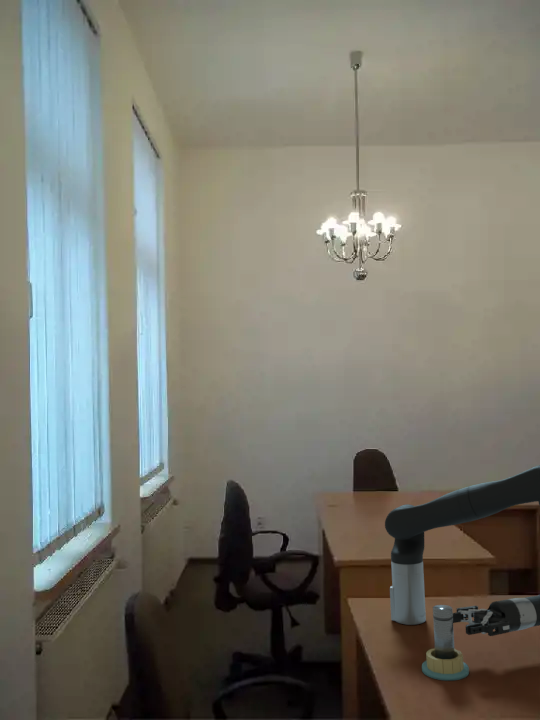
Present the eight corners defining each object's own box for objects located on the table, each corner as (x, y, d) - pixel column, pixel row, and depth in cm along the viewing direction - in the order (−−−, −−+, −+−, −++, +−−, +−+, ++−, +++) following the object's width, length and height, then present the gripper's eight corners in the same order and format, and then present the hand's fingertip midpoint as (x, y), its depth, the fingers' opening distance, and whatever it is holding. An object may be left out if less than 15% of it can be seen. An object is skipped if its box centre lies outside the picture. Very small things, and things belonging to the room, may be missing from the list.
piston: (432, 668, 169) (429, 609, 169) (439, 661, 173) (436, 603, 173) (451, 672, 166) (448, 612, 166) (458, 664, 170) (455, 606, 170)
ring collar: (414, 674, 168) (414, 657, 168) (432, 658, 177) (431, 642, 177) (459, 684, 162) (458, 666, 162) (475, 667, 171) (474, 650, 171)
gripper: (494, 592, 183) (439, 600, 178) (530, 607, 169) (472, 617, 164) (495, 621, 183) (441, 630, 177) (532, 639, 169) (474, 650, 164)
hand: (456, 624), depth 171 cm, fingers open, 8 cm apart
